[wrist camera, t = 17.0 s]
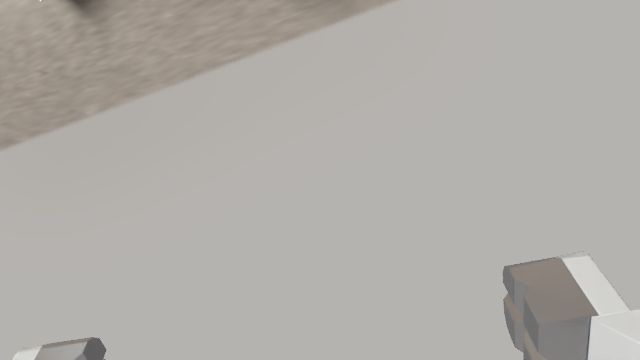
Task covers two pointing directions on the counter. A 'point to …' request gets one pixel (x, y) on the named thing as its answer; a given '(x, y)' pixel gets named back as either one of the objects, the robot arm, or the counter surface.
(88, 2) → the counter surface
